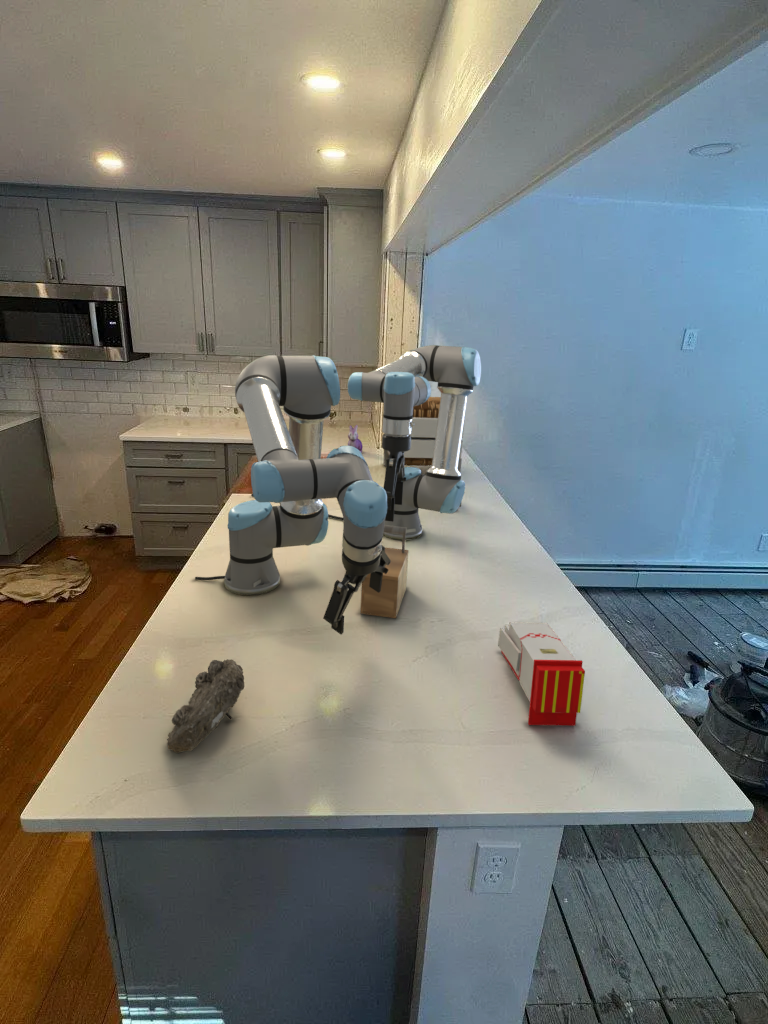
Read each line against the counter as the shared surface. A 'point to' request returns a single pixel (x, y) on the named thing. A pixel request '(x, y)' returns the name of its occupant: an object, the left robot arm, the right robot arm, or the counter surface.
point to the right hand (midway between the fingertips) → (392, 512)
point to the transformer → (424, 435)
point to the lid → (395, 554)
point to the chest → (384, 596)
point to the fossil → (206, 705)
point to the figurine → (354, 438)
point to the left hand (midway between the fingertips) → (356, 608)
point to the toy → (544, 672)
